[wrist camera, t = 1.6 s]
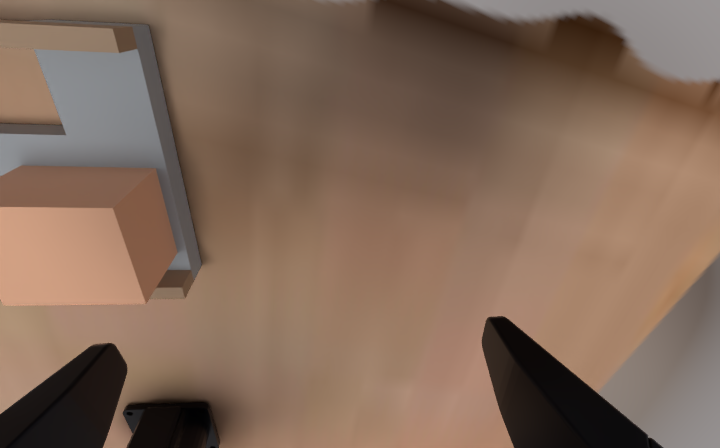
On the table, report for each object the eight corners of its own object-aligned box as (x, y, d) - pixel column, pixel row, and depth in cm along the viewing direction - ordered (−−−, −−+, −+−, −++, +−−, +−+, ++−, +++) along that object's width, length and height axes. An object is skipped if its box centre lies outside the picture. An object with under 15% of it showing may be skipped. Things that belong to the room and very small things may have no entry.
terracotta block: (177, 252, 20) (145, 304, 16) (61, 252, 19) (3, 305, 16) (155, 168, 17) (112, 208, 14) (21, 165, 17) (-59, 206, 13)
